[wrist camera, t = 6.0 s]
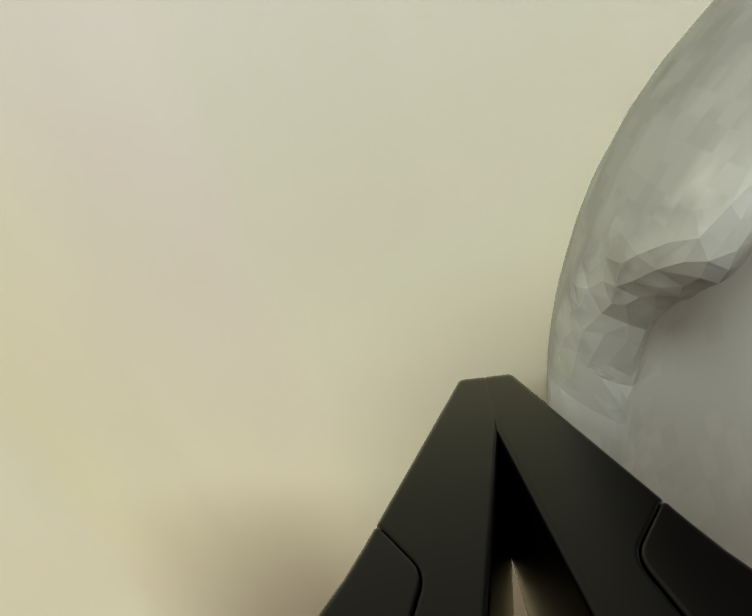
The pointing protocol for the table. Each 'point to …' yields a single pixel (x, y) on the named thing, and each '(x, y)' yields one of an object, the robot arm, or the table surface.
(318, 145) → the table surface
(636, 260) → the dish
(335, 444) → the table surface
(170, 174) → the table surface
